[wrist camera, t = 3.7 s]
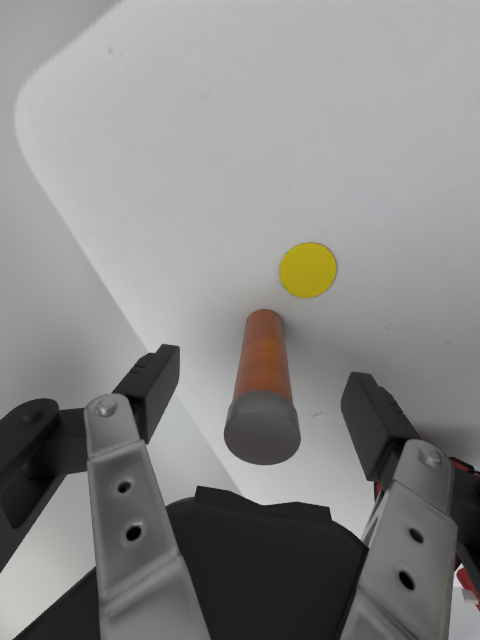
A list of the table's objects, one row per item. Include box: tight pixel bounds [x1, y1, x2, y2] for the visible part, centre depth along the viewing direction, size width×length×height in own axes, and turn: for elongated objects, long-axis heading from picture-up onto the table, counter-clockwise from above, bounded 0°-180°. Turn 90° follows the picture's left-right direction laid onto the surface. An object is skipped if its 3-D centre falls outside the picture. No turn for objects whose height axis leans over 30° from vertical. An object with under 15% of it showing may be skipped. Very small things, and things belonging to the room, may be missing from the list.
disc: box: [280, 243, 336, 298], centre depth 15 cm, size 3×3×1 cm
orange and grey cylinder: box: [224, 309, 301, 465], centre depth 13 cm, size 3×3×9 cm
